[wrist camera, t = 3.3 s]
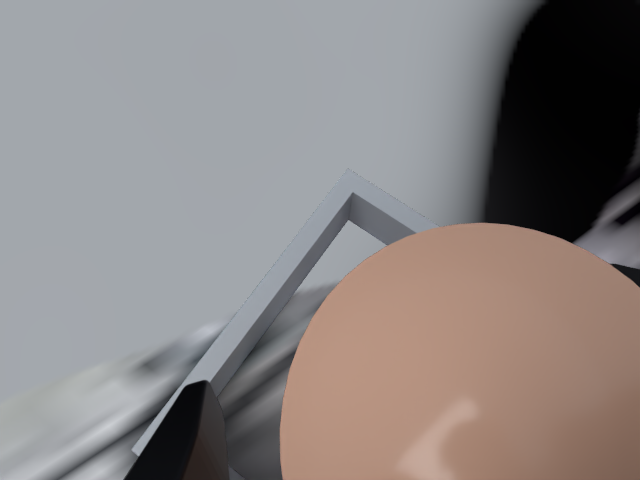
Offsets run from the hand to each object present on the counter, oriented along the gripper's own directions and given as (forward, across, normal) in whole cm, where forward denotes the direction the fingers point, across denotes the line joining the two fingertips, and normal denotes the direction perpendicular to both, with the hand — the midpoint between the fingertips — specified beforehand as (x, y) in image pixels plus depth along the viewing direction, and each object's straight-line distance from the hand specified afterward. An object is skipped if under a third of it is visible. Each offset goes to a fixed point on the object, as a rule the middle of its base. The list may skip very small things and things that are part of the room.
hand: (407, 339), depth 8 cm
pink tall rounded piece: (+4, 0, +6) cm, 7 cm away
